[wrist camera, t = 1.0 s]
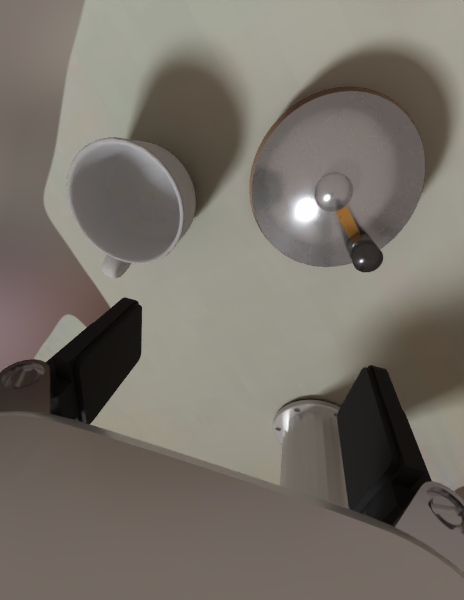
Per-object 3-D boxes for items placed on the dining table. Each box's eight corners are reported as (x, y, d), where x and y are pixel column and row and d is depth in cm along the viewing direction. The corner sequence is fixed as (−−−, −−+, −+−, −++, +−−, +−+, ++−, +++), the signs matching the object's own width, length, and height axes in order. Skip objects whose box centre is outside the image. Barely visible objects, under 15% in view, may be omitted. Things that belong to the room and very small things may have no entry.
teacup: (142, 114, 28) (91, 104, 21) (226, 187, 30) (204, 200, 23) (93, 221, 35) (42, 240, 28) (163, 276, 37) (132, 306, 30)
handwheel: (442, 213, 25) (476, 230, 20) (298, 283, 31) (297, 308, 26) (379, 47, 20) (402, 18, 16) (226, 165, 26) (210, 169, 22)
